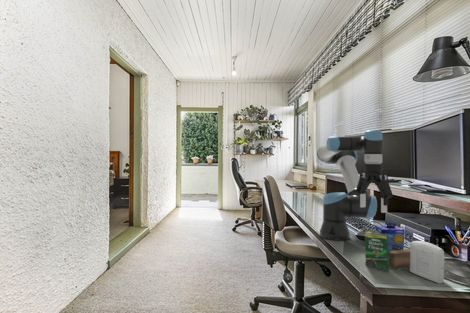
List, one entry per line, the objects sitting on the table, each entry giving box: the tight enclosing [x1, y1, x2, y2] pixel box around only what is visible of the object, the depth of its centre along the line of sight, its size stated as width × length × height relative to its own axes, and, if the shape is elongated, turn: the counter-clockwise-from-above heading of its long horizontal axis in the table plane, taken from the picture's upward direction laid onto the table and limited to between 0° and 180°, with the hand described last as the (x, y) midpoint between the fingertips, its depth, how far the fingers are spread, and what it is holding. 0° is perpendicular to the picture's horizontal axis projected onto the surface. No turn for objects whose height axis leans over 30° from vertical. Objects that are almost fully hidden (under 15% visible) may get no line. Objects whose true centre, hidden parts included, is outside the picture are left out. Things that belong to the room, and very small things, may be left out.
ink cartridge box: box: [375, 222, 405, 255], centre depth 112 cm, size 10×6×14 cm, turn 88°
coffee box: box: [364, 231, 390, 271], centre depth 100 cm, size 8×3×13 cm, turn 49°
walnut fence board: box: [389, 248, 410, 271], centre depth 102 cm, size 2×20×6 cm, turn 108°
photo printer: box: [409, 240, 445, 284], centre depth 92 cm, size 10×4×12 cm, turn 24°
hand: (373, 209), depth 121 cm, fingers open, 11 cm apart
